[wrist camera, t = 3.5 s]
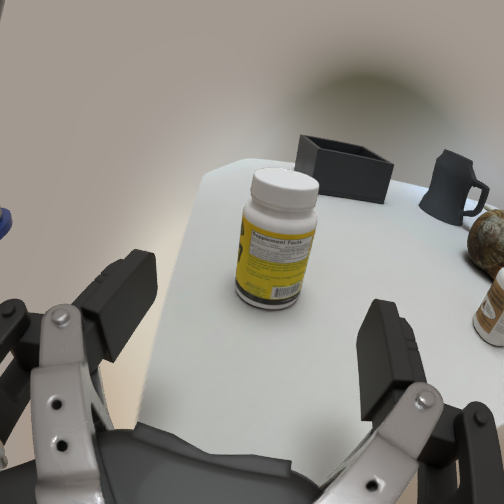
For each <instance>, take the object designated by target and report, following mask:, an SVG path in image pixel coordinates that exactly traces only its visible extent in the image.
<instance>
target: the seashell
mask: <svg viewBox="0 0 504 504" xmlns="http://www.w3.org/2000/svg"><path fill="white" fill-rule="evenodd" d="M467 248H468V253H469V255H470V258H471V259H472V261H473V262H474V264H475V265H477V266H478V267H479V268H480V269H482V270H484V271H486V272H487V273H488V274H489V275H490V276H491V277H492V278H493V279H494V280H495V278H496V276H497V274H498V272H499V271H500V269H502V268H504V210H497V209H495V210H491V211H488V212H486V213H484V214H482V215H481V216H480V217H478V219H477V220H476V221H475V222H474V224H473V226H472V227H471V229H470V232H469V235H468V240H467Z"/></svg>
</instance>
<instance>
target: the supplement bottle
mask: <svg viewBox="0 0 504 504" xmlns="http://www.w3.org/2000/svg"><path fill="white" fill-rule="evenodd" d="M318 190H319V183H318V182H317V181H316V180H315V179H314V178H312V177H310V176H308V175H305V174H303V173H300V172H296V171H292V170H288V169H281V168H263V169H259V170H256V171H255V172H254V175H253V181H252V186H251V197H252V198H251V199H250V200H249V201H248V202H247V203H246V204H245V206H244V209H243V215H242V224H241V234H240V242H239V251H238V260H237V269H236V280H235V286H236V290H237V292H238V294H239V295H240V297H241V298H242V299H244V300H245V301H246V302H248V303H249V304H251V305H254V306H257V307H260V308H265V309H281V308H285V307H287V306H290V305H291V304H293V303H294V302H295V301H296V300H297V298H298V296H299V294H300V290H301V286H302V282H303V278H304V275H305V271H306V267H307V263H308V259H309V255H310V251H311V247H312V242H313V238H314V234H315V230H316V226H317V215H316V213H315V211H314V210H313V208H314V207H315V204H316V201H317V196H318Z"/></svg>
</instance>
